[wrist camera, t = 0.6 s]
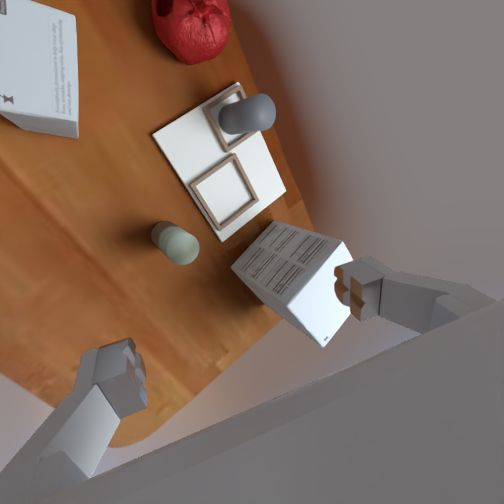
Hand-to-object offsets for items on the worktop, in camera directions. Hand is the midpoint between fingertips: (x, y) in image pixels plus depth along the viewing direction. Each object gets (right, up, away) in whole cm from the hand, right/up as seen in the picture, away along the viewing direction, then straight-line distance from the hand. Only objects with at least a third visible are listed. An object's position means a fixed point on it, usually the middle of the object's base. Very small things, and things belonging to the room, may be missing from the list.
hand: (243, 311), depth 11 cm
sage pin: (-14, +5, +34) cm, 37 cm away
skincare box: (-24, +21, +23) cm, 39 cm away
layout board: (-4, +17, +37) cm, 40 cm away
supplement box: (+4, 0, +47) cm, 48 cm away
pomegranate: (-9, +33, +28) cm, 44 cm away
